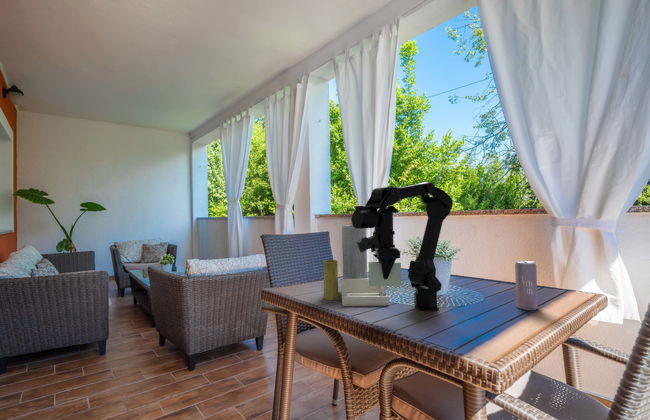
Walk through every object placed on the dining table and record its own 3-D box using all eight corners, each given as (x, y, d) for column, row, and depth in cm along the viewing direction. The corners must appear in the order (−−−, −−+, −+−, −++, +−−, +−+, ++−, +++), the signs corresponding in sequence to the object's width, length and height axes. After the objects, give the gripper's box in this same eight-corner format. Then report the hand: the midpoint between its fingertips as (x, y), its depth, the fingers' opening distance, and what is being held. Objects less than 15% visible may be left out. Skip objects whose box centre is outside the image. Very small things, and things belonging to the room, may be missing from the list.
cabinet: (382, 296, 125) (382, 278, 125) (388, 305, 112) (388, 285, 112) (341, 296, 126) (341, 278, 126) (342, 305, 113) (342, 286, 113)
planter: (338, 292, 133) (337, 226, 133) (351, 287, 141) (349, 225, 142) (360, 295, 127) (358, 226, 128) (371, 290, 135) (370, 225, 136)
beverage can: (536, 306, 107) (534, 261, 108) (539, 311, 102) (537, 263, 102) (515, 304, 110) (513, 260, 110) (517, 309, 104) (515, 262, 105)
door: (399, 284, 101) (399, 261, 101) (401, 285, 99) (400, 262, 99) (368, 284, 101) (368, 262, 101) (369, 286, 99) (369, 263, 99)
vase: (337, 300, 120) (337, 261, 120) (321, 300, 121) (320, 261, 121) (340, 296, 126) (339, 259, 126) (324, 296, 127) (324, 259, 127)
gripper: (355, 227, 110) (356, 273, 110) (360, 229, 91) (361, 285, 91) (388, 226, 110) (389, 272, 109) (400, 228, 91) (401, 284, 91)
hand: (384, 278), depth 100 cm, fingers closed on door, 2 cm apart
